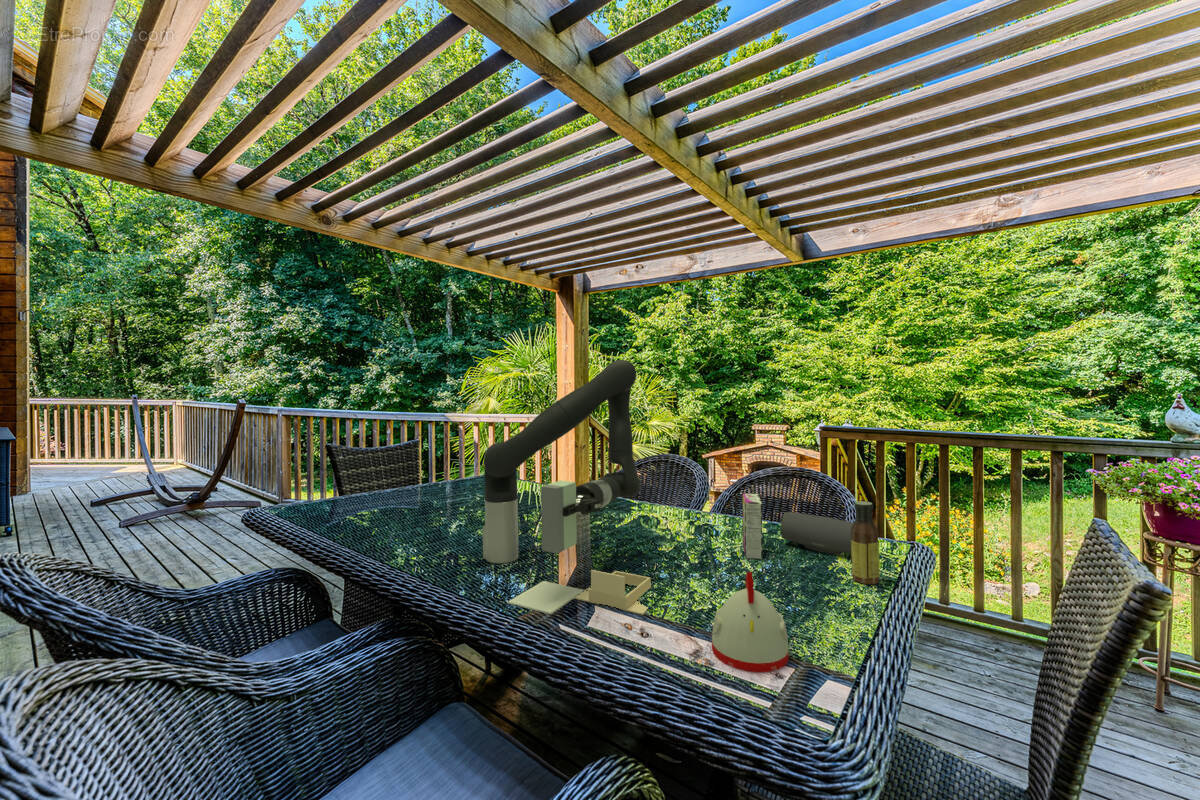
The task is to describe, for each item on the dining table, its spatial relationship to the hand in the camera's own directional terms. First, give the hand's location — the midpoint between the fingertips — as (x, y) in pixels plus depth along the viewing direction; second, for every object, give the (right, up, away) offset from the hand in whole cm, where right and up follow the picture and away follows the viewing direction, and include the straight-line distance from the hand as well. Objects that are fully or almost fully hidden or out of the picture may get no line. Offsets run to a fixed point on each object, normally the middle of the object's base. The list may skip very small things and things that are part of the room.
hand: (555, 510), depth 123 cm
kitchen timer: (+39, -22, -24) cm, 50 cm away
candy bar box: (+55, -19, +31) cm, 66 cm away
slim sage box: (+1, -9, +2) cm, 9 cm away
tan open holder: (+16, -20, +4) cm, 26 cm away
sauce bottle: (+77, -20, +10) cm, 80 cm away
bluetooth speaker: (+77, -19, +33) cm, 85 cm away
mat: (-2, -21, +2) cm, 21 cm away
